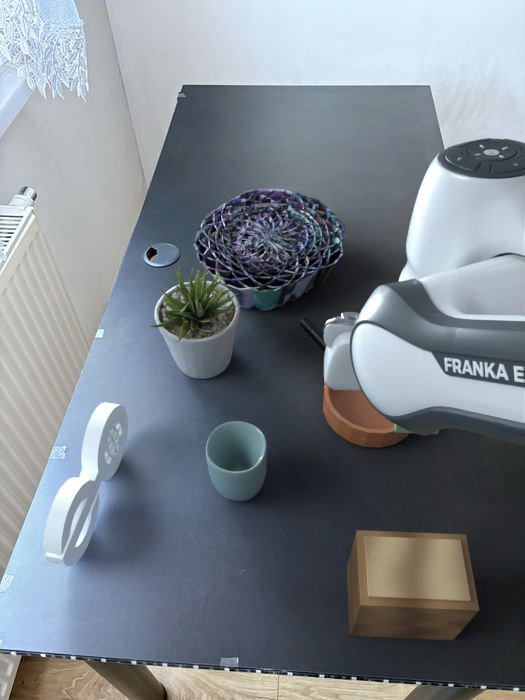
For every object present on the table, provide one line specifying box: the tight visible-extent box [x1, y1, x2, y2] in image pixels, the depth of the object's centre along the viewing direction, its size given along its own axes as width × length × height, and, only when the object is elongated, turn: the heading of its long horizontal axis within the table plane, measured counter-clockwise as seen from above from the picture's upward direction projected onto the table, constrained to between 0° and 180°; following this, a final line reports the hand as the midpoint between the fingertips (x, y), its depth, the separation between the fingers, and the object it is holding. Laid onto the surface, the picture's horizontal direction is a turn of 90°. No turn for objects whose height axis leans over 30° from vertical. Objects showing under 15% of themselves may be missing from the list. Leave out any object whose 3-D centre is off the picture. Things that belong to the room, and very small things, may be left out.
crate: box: [346, 529, 480, 641], centre depth 68 cm, size 12×8×12 cm, turn 87°
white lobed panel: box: [43, 402, 129, 567], centre depth 78 cm, size 22×2×10 cm, turn 169°
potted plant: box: [149, 265, 241, 380], centre depth 89 cm, size 13×14×20 cm
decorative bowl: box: [192, 188, 346, 312], centre depth 107 cm, size 26×28×10 cm
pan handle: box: [298, 316, 327, 354], centre depth 95 cm, size 10×2×2 cm, turn 32°
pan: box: [322, 382, 411, 449], centre depth 89 cm, size 14×14×4 cm
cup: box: [205, 420, 268, 502], centre depth 79 cm, size 8×8×10 cm
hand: (417, 407), depth 63 cm, fingers closed on block, 4 cm apart
